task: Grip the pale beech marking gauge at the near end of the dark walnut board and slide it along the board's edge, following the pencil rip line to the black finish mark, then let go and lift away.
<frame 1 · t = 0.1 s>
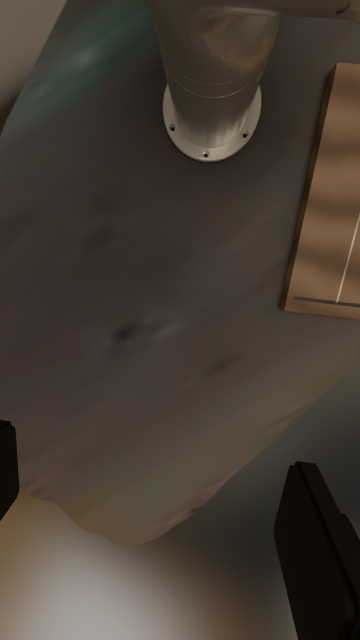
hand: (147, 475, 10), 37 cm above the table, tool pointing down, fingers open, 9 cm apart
walnut board: (345, 207, 40), on the table
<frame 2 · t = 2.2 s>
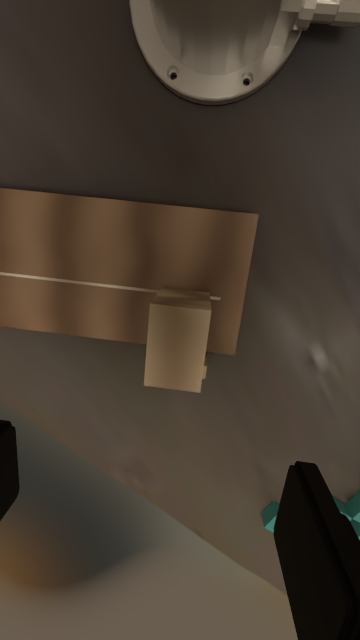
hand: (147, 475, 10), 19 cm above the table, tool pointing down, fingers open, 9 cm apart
walnut board: (82, 266, 27), on the table
marking gauge: (179, 336, 24), point 5 cm above the table, slide at 0.0 cm
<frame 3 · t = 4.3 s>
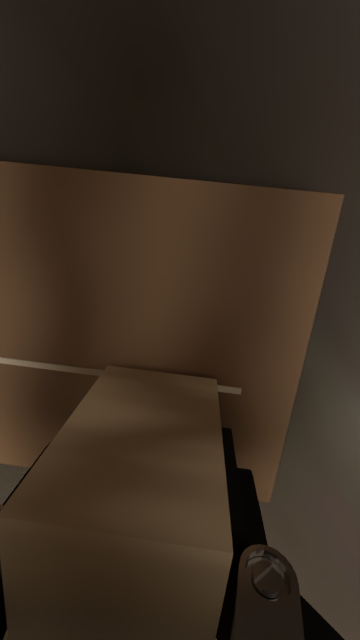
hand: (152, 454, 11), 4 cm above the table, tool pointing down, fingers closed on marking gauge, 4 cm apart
marking gauge: (145, 491, 10), point 5 cm above the table, slide at 0.0 cm, touching gripper
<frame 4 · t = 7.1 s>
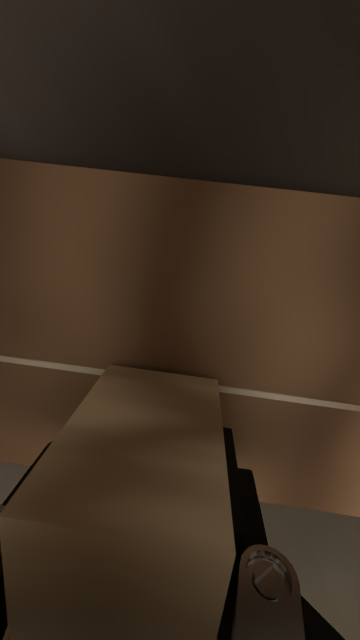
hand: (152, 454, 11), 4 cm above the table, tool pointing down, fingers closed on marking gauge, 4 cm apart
walnut board: (184, 335, 13), on the table
marking gauge: (145, 491, 10), point 5 cm above the table, slide at 10.5 cm, touching gripper
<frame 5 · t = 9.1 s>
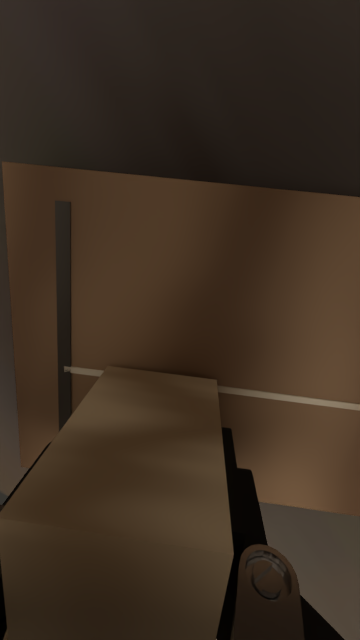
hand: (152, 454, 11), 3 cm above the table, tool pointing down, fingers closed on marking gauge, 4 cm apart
marking gauge: (145, 492, 10), point 5 cm above the table, slide at 19.2 cm, touching gripper
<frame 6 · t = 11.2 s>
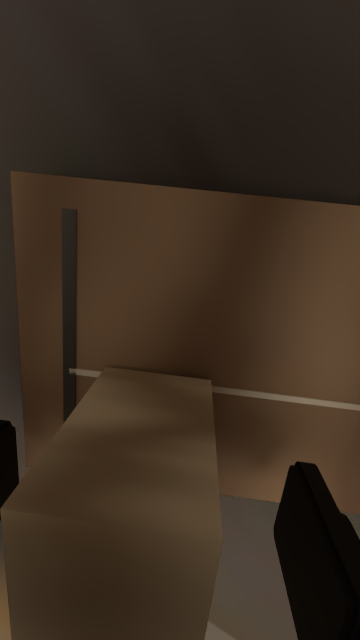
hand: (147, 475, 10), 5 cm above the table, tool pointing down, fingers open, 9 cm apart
marking gauge: (141, 489, 10), point 5 cm above the table, slide at 19.5 cm
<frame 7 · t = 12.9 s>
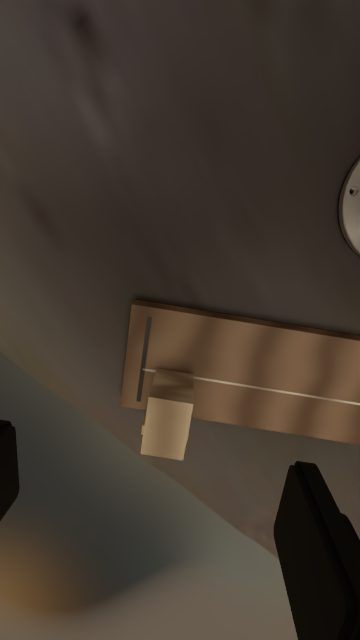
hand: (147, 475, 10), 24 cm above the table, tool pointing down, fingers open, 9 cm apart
walnut board: (257, 369, 34), on the table
marking gauge: (169, 409, 30), point 5 cm above the table, slide at 19.5 cm
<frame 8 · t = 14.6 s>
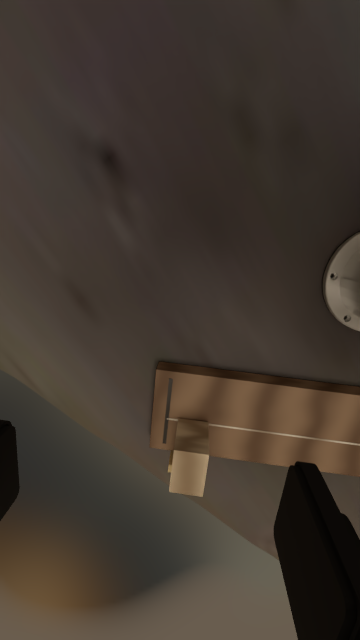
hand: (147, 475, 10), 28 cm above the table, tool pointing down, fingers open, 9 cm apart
walnut board: (261, 414, 41), on the table
marking gauge: (189, 452, 38), point 5 cm above the table, slide at 19.5 cm
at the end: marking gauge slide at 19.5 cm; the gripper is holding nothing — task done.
